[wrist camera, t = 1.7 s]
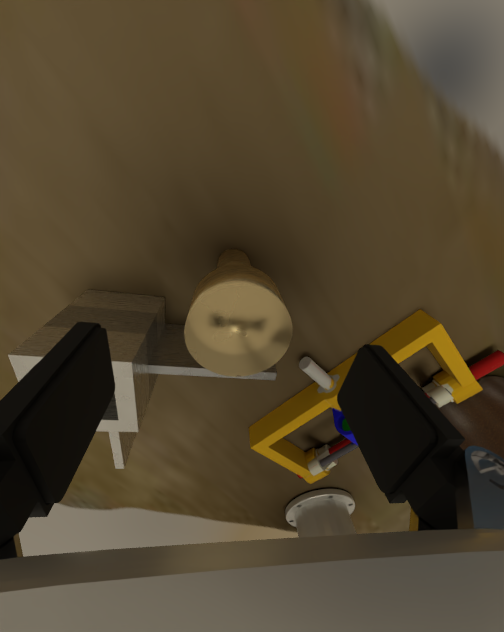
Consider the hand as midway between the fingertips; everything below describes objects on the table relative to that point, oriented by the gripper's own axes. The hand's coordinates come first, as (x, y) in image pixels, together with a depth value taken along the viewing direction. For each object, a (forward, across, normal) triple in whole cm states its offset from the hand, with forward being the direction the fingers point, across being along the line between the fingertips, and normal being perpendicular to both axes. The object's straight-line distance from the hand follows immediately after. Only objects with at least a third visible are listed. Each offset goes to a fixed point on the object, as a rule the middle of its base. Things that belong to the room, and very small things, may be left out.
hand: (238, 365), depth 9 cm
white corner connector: (+13, +4, +13) cm, 19 cm away
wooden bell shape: (+14, 0, +1) cm, 14 cm away
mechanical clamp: (+14, -17, +14) cm, 26 cm away
